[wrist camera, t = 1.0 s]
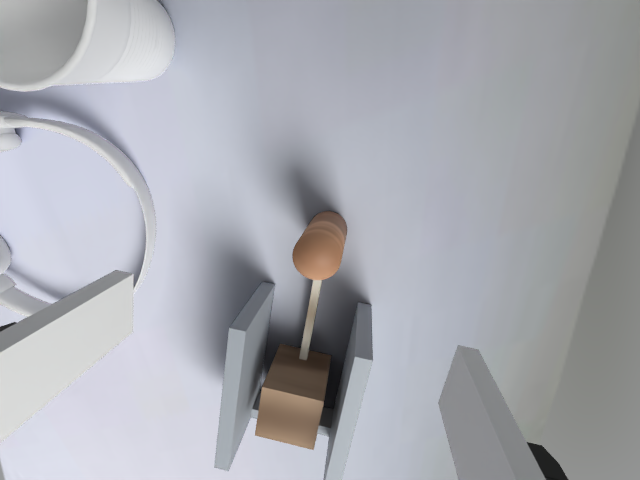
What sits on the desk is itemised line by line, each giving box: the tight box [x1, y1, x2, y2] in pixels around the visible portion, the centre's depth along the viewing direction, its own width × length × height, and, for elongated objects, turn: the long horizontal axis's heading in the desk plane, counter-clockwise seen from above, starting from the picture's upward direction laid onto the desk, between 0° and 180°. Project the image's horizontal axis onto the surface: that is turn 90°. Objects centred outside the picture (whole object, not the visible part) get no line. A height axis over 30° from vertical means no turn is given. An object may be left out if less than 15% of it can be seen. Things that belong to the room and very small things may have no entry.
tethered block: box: [255, 211, 347, 450], centre depth 28 cm, size 19×5×7 cm, turn 170°
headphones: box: [0, 111, 156, 317], centre depth 30 cm, size 7×18×20 cm
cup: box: [0, 0, 175, 92], centre depth 22 cm, size 10×10×11 cm
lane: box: [214, 282, 373, 480], centre depth 29 cm, size 13×10×8 cm
